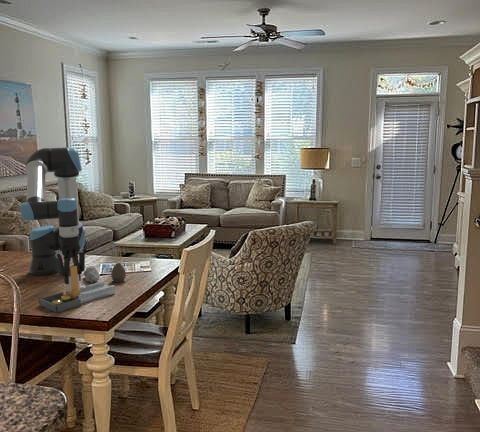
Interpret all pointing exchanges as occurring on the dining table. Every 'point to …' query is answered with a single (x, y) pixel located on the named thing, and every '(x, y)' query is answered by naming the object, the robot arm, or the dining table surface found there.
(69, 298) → the gold domed disc
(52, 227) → the robot arm
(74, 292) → the orange l-shaped bar
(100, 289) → the slot rail
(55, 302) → the gold domed disc
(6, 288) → the dining table surface
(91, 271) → the mineral specimen
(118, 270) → the vase
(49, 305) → the tray
